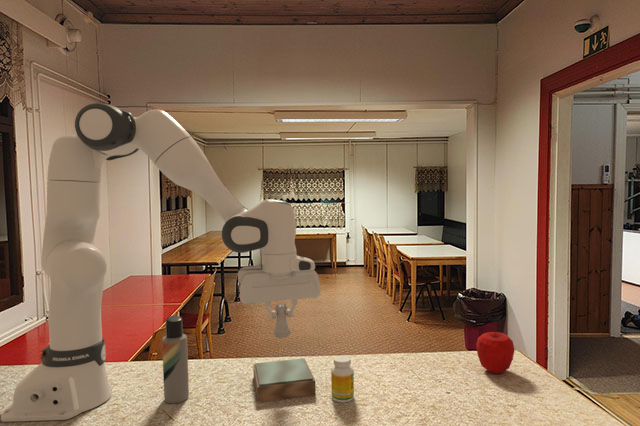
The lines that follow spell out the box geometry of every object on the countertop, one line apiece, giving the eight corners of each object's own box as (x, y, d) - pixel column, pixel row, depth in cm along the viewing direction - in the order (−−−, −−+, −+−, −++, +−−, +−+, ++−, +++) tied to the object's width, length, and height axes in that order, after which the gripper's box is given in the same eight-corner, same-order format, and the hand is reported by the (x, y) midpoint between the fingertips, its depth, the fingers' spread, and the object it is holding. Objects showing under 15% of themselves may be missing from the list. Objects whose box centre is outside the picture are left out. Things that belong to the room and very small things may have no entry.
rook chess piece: (282, 331, 114) (280, 301, 113) (294, 334, 111) (293, 303, 110) (269, 335, 110) (268, 305, 110) (282, 339, 107) (280, 307, 107)
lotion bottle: (182, 390, 109) (179, 312, 108) (193, 398, 105) (190, 316, 104) (160, 398, 105) (157, 317, 104) (170, 406, 101) (167, 322, 100)
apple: (485, 361, 124) (485, 323, 123) (519, 370, 117) (520, 330, 117) (469, 371, 117) (469, 332, 116) (505, 382, 110) (506, 340, 110)
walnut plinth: (257, 402, 102) (257, 385, 102) (253, 377, 116) (253, 362, 116) (315, 395, 105) (315, 379, 105) (304, 371, 119) (304, 357, 119)
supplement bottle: (330, 392, 106) (330, 354, 106) (352, 392, 106) (352, 354, 106) (332, 403, 101) (331, 363, 100) (355, 402, 101) (354, 362, 100)
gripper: (237, 268, 103) (240, 325, 104) (321, 262, 108) (322, 317, 109) (237, 264, 110) (239, 317, 110) (315, 258, 114) (317, 310, 115)
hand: (281, 317), depth 110 cm, fingers closed on rook chess piece, 3 cm apart
